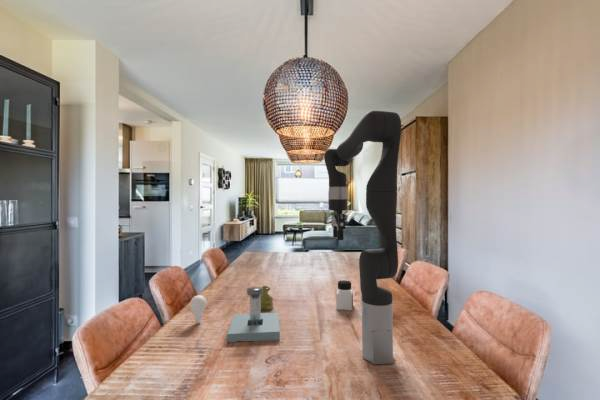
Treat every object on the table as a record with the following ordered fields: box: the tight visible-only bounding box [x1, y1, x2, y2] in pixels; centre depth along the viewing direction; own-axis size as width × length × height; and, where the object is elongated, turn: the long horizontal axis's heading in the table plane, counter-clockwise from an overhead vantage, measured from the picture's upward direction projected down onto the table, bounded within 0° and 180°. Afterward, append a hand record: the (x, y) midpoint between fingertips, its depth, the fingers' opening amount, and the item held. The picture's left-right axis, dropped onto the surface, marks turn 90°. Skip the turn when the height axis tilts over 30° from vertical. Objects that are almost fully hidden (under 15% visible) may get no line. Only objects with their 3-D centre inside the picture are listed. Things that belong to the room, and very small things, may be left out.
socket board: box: [226, 312, 281, 343], centre depth 112 cm, size 18×18×3 cm
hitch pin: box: [246, 286, 263, 326], centre depth 112 cm, size 6×6×16 cm
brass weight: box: [260, 285, 274, 312], centre depth 135 cm, size 7×7×10 cm
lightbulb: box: [189, 294, 207, 324], centre depth 119 cm, size 6×6×11 cm
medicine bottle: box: [335, 279, 354, 311], centre depth 135 cm, size 7×7×12 cm
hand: (338, 238), depth 120 cm, fingers open, 8 cm apart
